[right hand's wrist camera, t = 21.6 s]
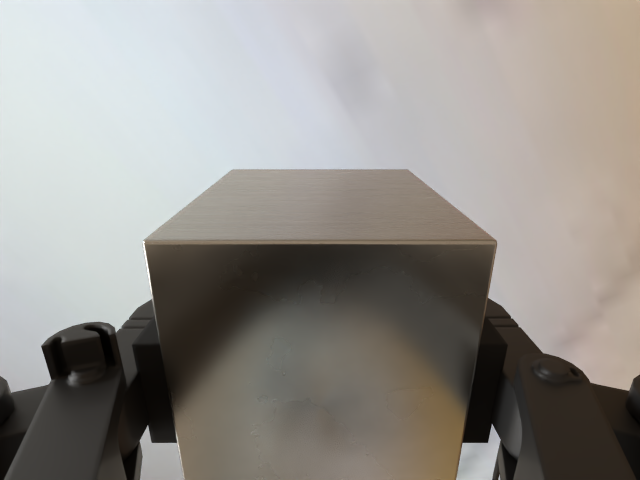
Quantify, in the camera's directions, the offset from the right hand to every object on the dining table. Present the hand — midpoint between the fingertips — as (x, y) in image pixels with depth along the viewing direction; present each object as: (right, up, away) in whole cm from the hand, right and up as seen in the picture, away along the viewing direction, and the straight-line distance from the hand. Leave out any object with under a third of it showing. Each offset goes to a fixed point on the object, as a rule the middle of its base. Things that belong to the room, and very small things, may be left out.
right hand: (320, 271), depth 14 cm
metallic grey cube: (0, 0, 0) cm, 0 cm away
